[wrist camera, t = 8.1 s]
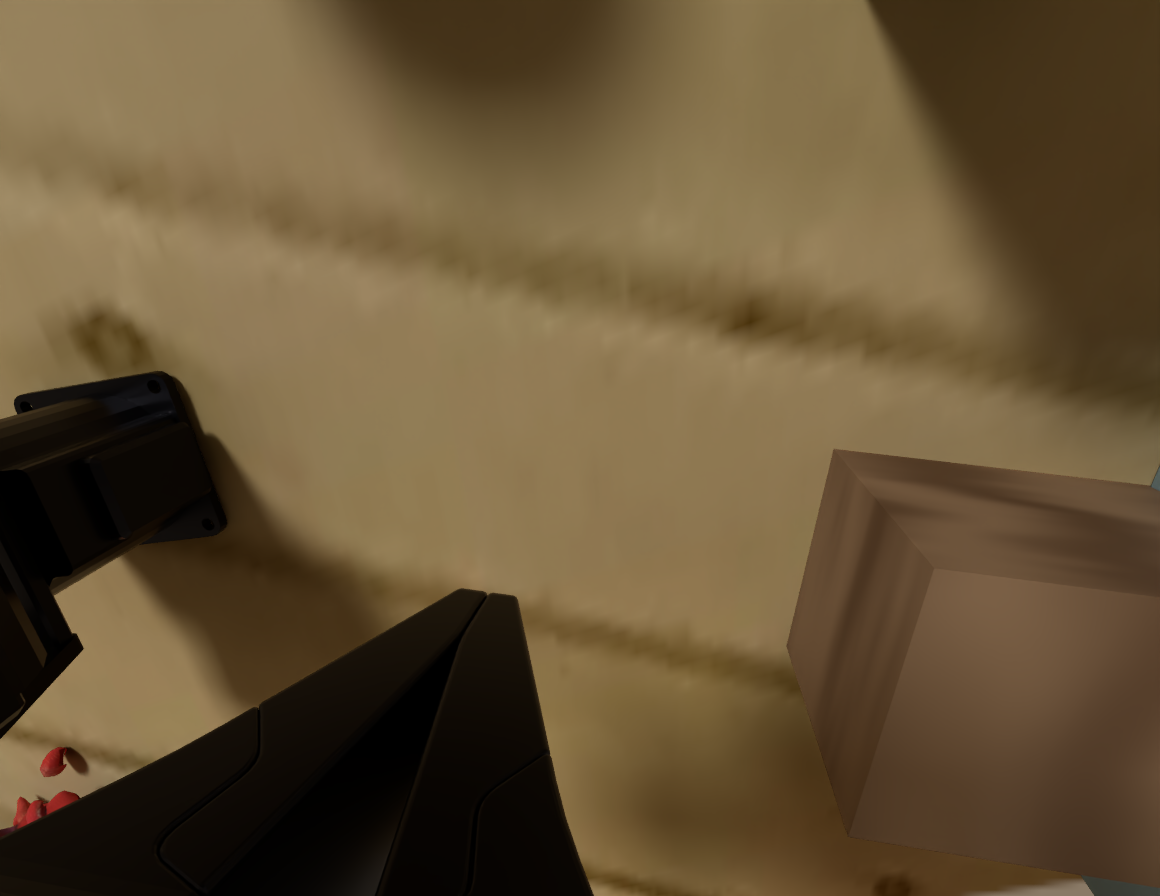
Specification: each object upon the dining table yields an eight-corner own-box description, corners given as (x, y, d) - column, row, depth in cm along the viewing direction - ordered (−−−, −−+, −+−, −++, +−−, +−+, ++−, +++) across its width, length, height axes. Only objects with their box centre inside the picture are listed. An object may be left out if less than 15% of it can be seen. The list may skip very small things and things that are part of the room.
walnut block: (785, 644, 23) (848, 836, 16) (832, 448, 21) (934, 568, 13) (1061, 683, 23) (1262, 905, 15) (1146, 484, 20) (1442, 634, 12)
